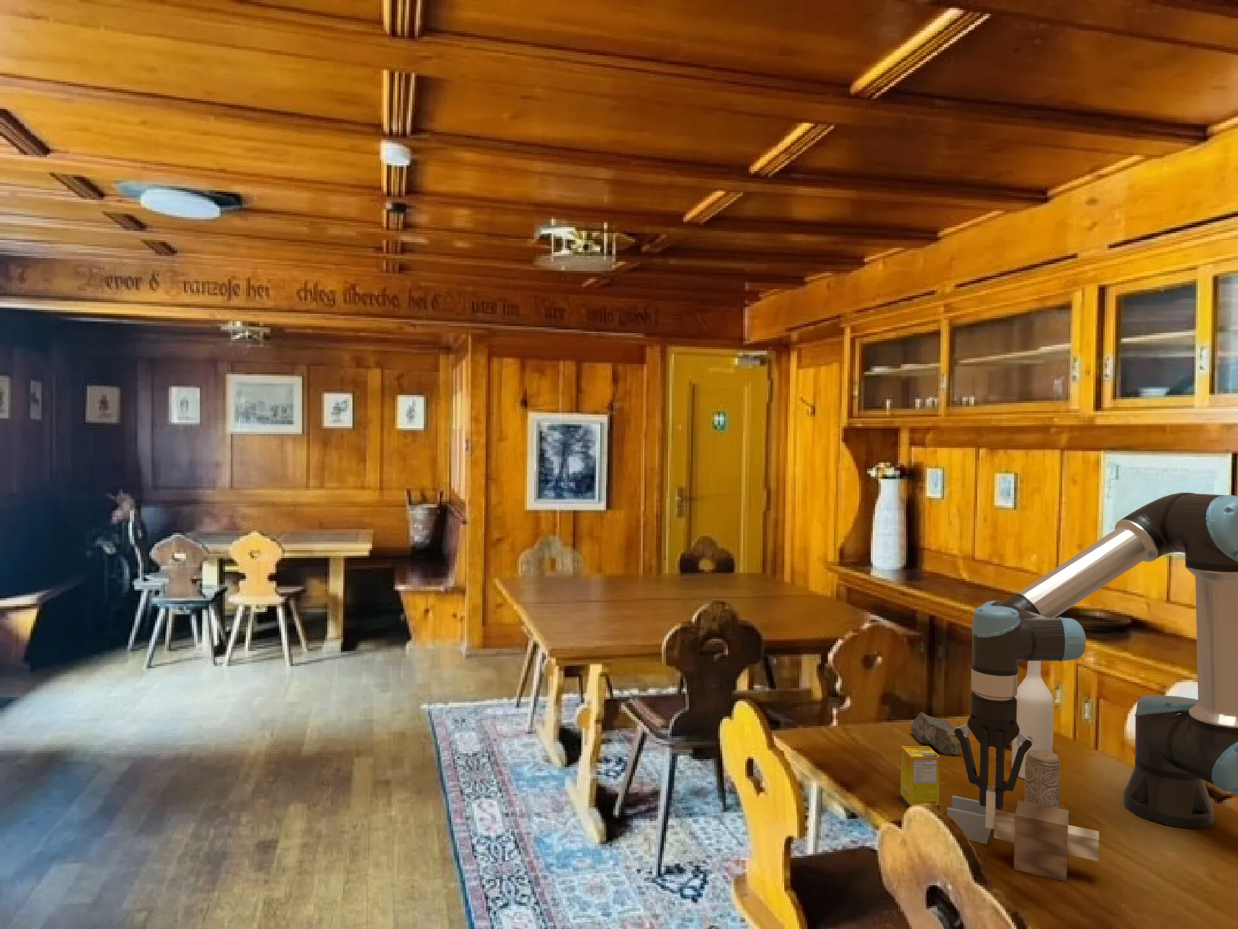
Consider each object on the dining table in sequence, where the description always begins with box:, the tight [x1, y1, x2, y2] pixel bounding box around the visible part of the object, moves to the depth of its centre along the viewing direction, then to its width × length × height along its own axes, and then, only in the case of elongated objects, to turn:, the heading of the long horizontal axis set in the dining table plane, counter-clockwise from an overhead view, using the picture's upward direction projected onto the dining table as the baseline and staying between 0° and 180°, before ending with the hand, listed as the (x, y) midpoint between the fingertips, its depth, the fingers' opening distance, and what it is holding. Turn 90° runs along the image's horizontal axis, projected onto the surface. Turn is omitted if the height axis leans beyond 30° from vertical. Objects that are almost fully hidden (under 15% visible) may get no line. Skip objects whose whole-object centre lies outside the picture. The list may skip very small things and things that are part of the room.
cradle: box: [946, 795, 992, 845], centre depth 158 cm, size 7×7×5 cm
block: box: [1013, 799, 1070, 882], centre depth 145 cm, size 8×7×10 cm
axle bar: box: [993, 809, 1100, 862], centre depth 145 cm, size 16×4×4 cm, turn 60°
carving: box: [1024, 750, 1061, 808], centre depth 167 cm, size 6×8×12 cm
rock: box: [910, 712, 962, 756], centre depth 204 cm, size 17×7×10 cm
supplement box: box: [900, 745, 941, 809], centre depth 171 cm, size 6×6×11 cm
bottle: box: [1011, 661, 1054, 780], centre depth 186 cm, size 8×8×30 cm
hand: (990, 825), depth 149 cm, fingers closed
